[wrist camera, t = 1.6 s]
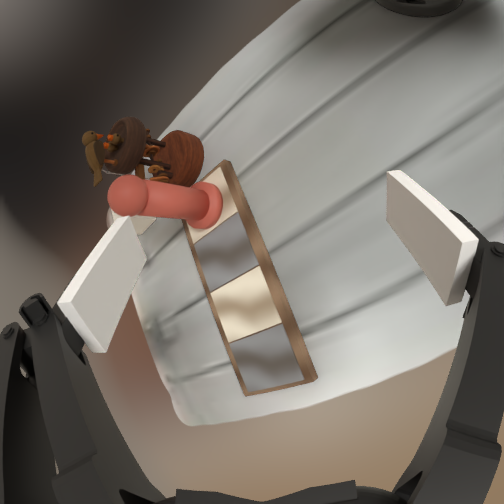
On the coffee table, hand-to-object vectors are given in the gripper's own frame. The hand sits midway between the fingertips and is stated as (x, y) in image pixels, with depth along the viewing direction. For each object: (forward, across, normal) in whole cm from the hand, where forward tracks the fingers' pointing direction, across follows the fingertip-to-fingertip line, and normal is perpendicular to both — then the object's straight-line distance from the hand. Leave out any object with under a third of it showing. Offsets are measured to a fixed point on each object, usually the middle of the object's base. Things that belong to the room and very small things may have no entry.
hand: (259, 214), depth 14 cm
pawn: (+28, -10, -11) cm, 32 cm away
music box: (+38, -14, -5) cm, 41 cm away
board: (+21, -6, -20) cm, 29 cm away
